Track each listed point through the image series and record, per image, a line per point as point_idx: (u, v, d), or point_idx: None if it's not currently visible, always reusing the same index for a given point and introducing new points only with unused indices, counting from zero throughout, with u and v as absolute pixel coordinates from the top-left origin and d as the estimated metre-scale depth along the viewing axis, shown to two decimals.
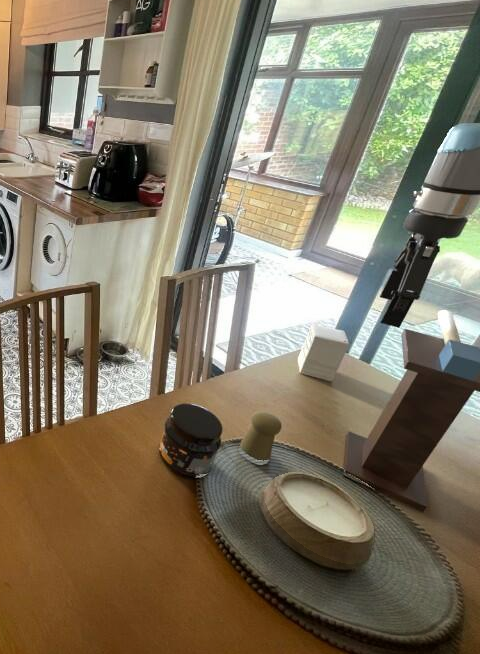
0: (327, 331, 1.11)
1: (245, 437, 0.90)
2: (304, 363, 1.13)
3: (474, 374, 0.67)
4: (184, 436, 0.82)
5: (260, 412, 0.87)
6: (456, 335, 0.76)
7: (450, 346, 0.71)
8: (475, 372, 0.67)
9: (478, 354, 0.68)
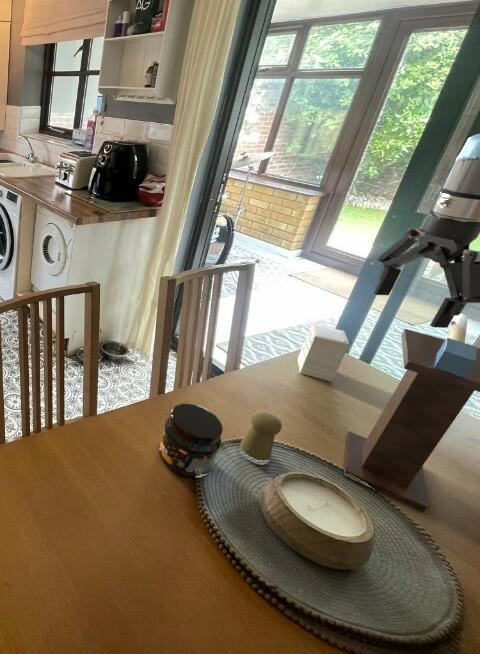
0: (327, 331, 1.11)
1: (245, 437, 0.90)
2: (304, 363, 1.13)
3: (465, 371, 0.68)
4: (184, 436, 0.82)
5: (260, 412, 0.87)
6: (461, 336, 0.76)
7: (445, 343, 0.71)
8: (466, 369, 0.68)
9: (472, 352, 0.69)
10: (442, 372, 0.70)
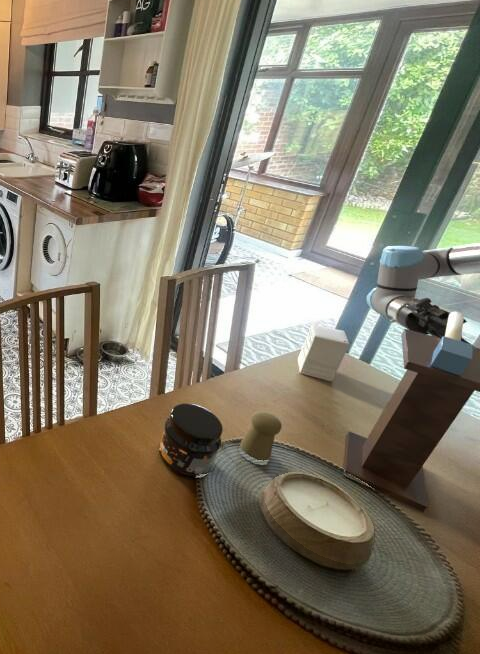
0: (327, 331, 1.11)
1: (245, 437, 0.90)
2: (304, 363, 1.13)
3: (461, 369, 0.69)
4: (184, 436, 0.82)
5: (260, 412, 0.87)
6: (457, 334, 0.76)
7: (442, 342, 0.72)
8: (462, 367, 0.68)
9: (469, 350, 0.69)
10: (442, 372, 0.70)
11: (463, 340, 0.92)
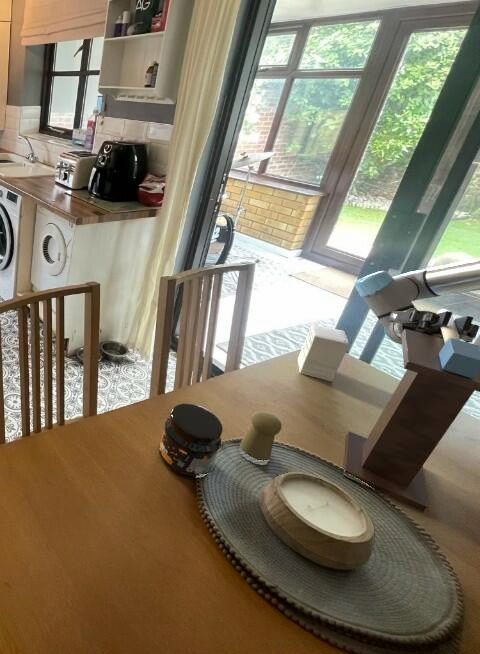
0: (327, 331, 1.11)
1: (245, 437, 0.90)
2: (304, 363, 1.13)
3: (474, 372, 0.68)
4: (184, 436, 0.82)
5: (260, 412, 0.87)
6: (456, 334, 0.77)
7: (450, 344, 0.71)
8: (475, 370, 0.68)
9: (478, 352, 0.69)
10: (442, 372, 0.70)
11: None
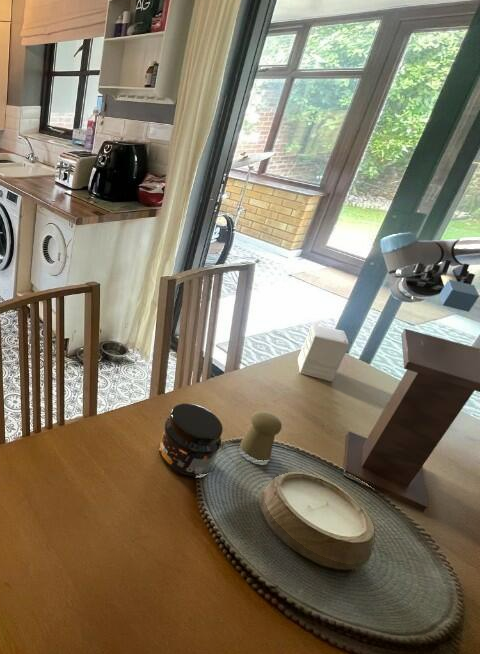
0: (327, 331, 1.11)
1: (245, 437, 0.90)
2: (304, 363, 1.13)
3: (469, 305, 0.79)
4: (184, 436, 0.82)
5: (260, 412, 0.87)
6: (454, 279, 0.88)
7: (449, 284, 0.82)
8: (470, 304, 0.79)
9: (473, 289, 0.80)
10: (442, 372, 0.70)
11: None
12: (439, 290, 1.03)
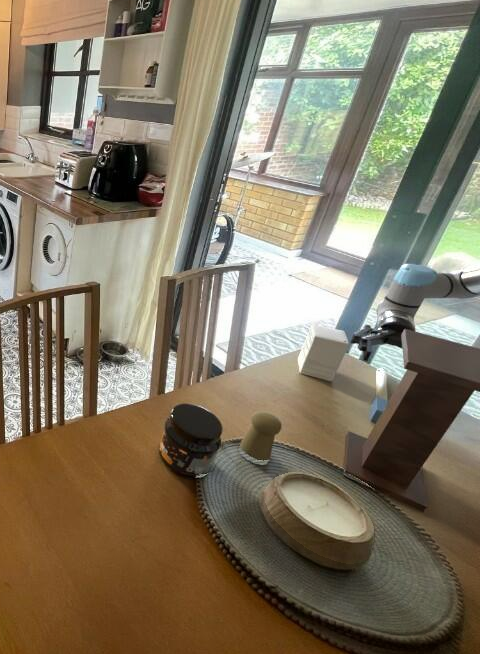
0: (327, 331, 1.11)
1: (245, 437, 0.90)
2: (304, 363, 1.13)
3: None
4: (184, 436, 0.82)
5: (260, 412, 0.87)
6: (384, 391, 1.05)
7: (376, 402, 1.00)
8: None
9: None
10: (442, 372, 0.70)
11: None
12: None
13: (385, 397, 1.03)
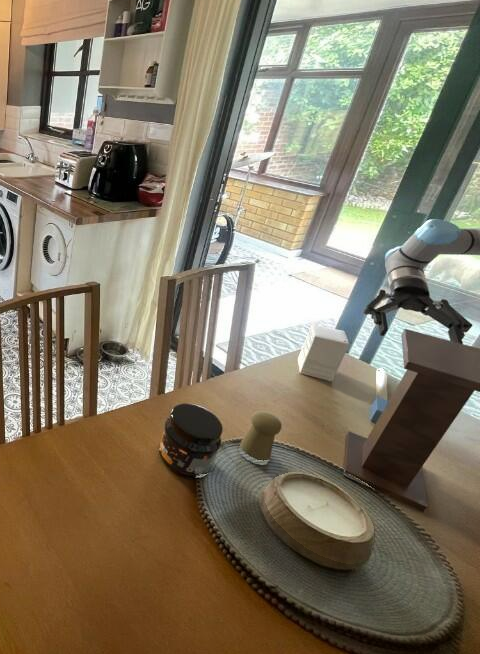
0: (327, 331, 1.11)
1: (245, 437, 0.90)
2: (304, 363, 1.13)
3: None
4: (184, 436, 0.82)
5: (260, 412, 0.87)
6: (384, 391, 1.05)
7: (376, 402, 1.00)
8: None
9: None
10: (442, 372, 0.70)
11: (435, 311, 1.09)
12: None
13: (385, 397, 1.03)
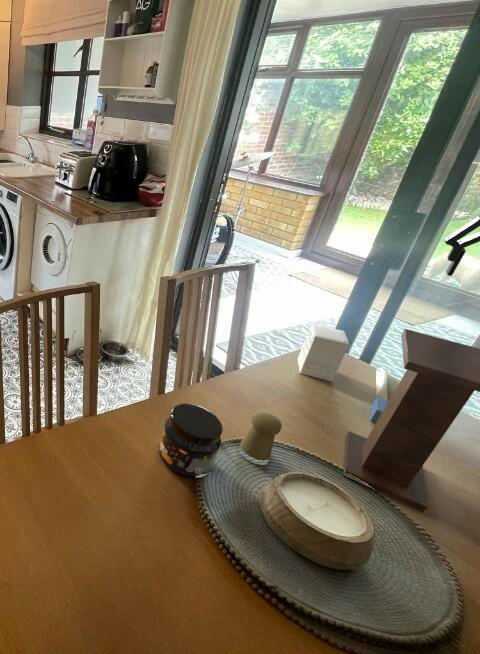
0: (327, 331, 1.11)
1: (245, 437, 0.90)
2: (304, 363, 1.13)
3: None
4: (184, 436, 0.82)
5: (260, 412, 0.87)
6: (384, 391, 1.05)
7: (376, 402, 1.00)
8: None
9: None
10: (442, 372, 0.70)
11: None
12: None
13: (385, 397, 1.03)
